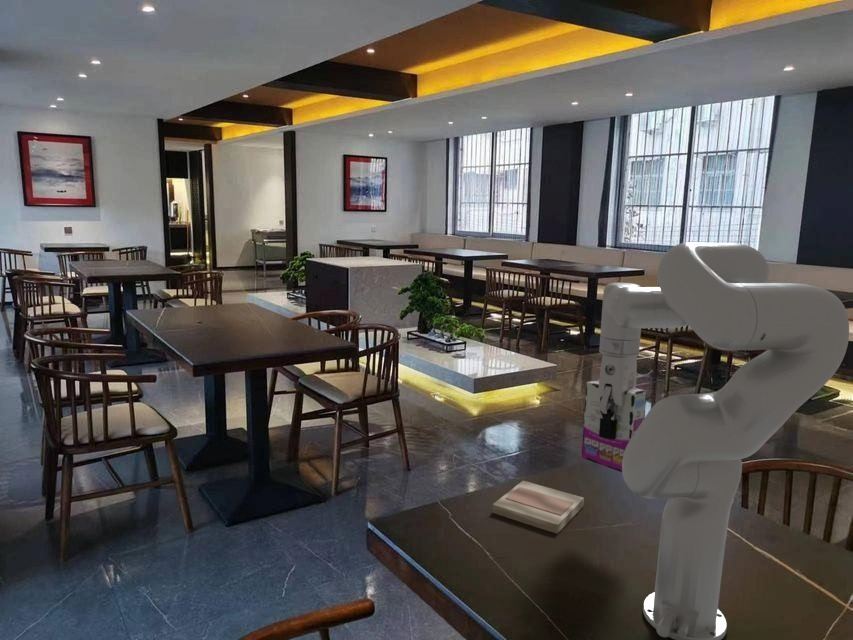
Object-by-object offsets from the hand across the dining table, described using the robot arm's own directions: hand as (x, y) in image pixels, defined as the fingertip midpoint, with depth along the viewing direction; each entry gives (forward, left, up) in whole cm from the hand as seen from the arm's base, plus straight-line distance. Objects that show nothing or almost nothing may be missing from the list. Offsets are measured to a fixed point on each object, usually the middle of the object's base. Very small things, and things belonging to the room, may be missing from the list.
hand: (612, 432), depth 127 cm
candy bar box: (0, 0, -7) cm, 7 cm away
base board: (0, +15, -21) cm, 26 cm away
